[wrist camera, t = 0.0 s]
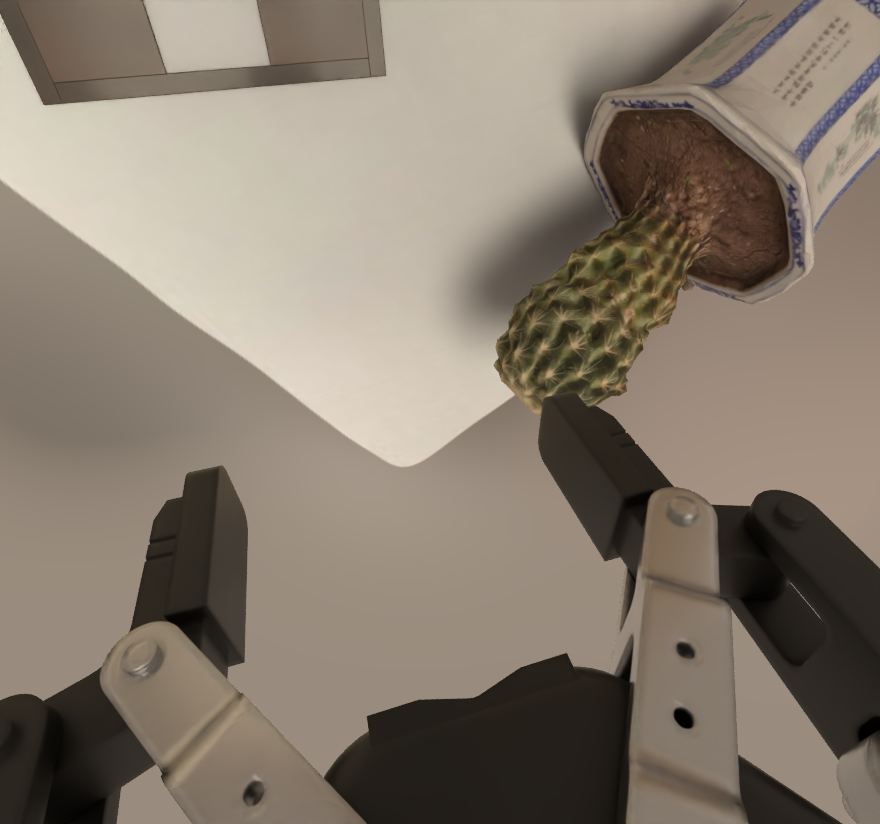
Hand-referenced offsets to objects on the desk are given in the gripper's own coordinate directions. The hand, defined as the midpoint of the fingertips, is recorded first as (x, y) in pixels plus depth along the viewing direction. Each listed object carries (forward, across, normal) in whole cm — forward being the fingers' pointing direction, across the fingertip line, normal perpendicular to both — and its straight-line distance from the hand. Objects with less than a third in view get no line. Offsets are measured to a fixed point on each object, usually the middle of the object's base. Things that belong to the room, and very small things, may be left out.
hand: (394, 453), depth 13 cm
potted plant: (+30, -23, +4) cm, 37 cm away
